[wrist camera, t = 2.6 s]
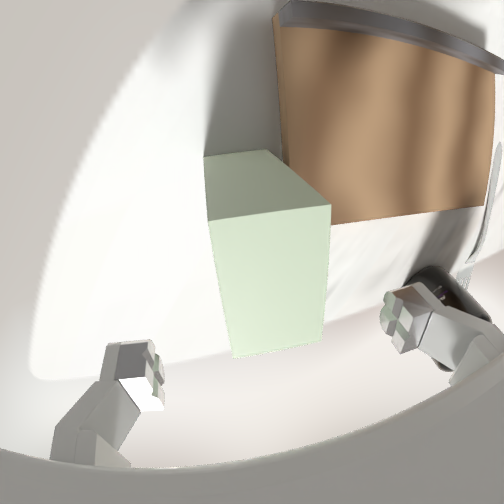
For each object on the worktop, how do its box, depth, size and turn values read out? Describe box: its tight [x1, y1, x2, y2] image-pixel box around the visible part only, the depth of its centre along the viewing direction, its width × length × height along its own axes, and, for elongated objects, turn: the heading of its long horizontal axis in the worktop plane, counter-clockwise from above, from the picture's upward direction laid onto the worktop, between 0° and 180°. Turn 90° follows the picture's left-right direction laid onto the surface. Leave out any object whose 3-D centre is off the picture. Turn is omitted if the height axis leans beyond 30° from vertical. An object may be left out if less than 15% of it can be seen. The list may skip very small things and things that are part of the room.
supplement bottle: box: [406, 266, 492, 372], centre depth 22 cm, size 7×7×12 cm
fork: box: [456, 142, 502, 291], centre depth 24 cm, size 3×24×2 cm, turn 0°
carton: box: [203, 149, 331, 359], centre depth 15 cm, size 4×6×10 cm, turn 5°
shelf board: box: [272, 0, 504, 225], centre depth 16 cm, size 20×14×4 cm
